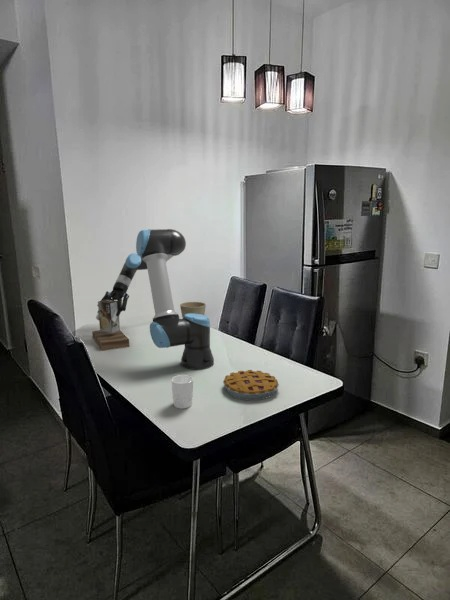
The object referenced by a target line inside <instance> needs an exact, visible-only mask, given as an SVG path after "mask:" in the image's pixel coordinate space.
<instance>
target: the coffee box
mask: <svg viewBox="0 0 450 600" xmlns="http://www.w3.org/2000/svg"><path fill="white" fill-rule="evenodd" d="M97 305H98V306H97V309H98V310H99V320H98V323H99V330H100V331H105V332H111V333H113V332H116V331H119V330H120V331H121V328H120V327H121V325H120V316H119V317H117V319H116V321H115V322H113V321H112V320H111V319H112V317H113V315H114V313H115V311H116V309H117V308H118V300H107V299H105V300H102V299H100V300H99V301H97ZM98 310H97V311H98Z"/></svg>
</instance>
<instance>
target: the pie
mask: <svg viewBox="0 0 450 600" xmlns="http://www.w3.org/2000/svg"><path fill="white" fill-rule="evenodd" d="M222 382H223V385H224V387H225V388H226V390H227V392H228V393H229V394H230V395H231V396H232V397H235V398H236V399H239V400H243V401H244V400H246V401H256V400H263V398H264V399H267V398H266V397H268V398H270V397H271V395H272V396H274V394H275V392H276V390H278V388H279V386H280V384H279V382H278V379H276V377H275V376H274V375H271V374H270V373H268V372H263V371H262V370H256V371H255V370H252V369H248V370H247V371H246V370H245V371H244V370H237V372H230V373H229V374H228V375H225V377H224V379H223V381H222ZM269 396H270V397H269Z"/></svg>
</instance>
